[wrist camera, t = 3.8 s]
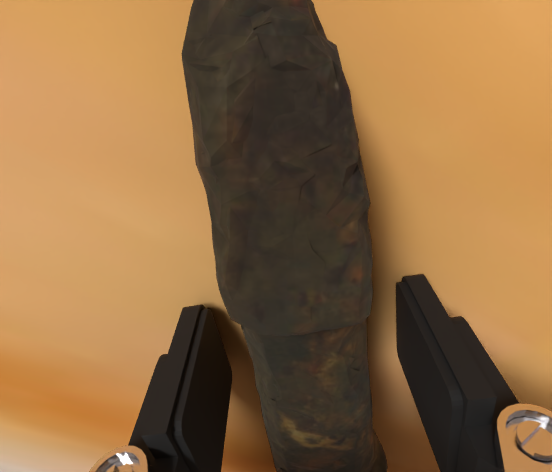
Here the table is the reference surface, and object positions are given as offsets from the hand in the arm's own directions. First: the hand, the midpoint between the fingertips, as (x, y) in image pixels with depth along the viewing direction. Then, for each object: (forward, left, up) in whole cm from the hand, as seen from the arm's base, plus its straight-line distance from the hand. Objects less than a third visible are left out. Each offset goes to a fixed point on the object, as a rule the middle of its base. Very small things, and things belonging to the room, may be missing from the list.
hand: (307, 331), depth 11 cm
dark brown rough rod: (+1, 0, -1) cm, 1 cm away
